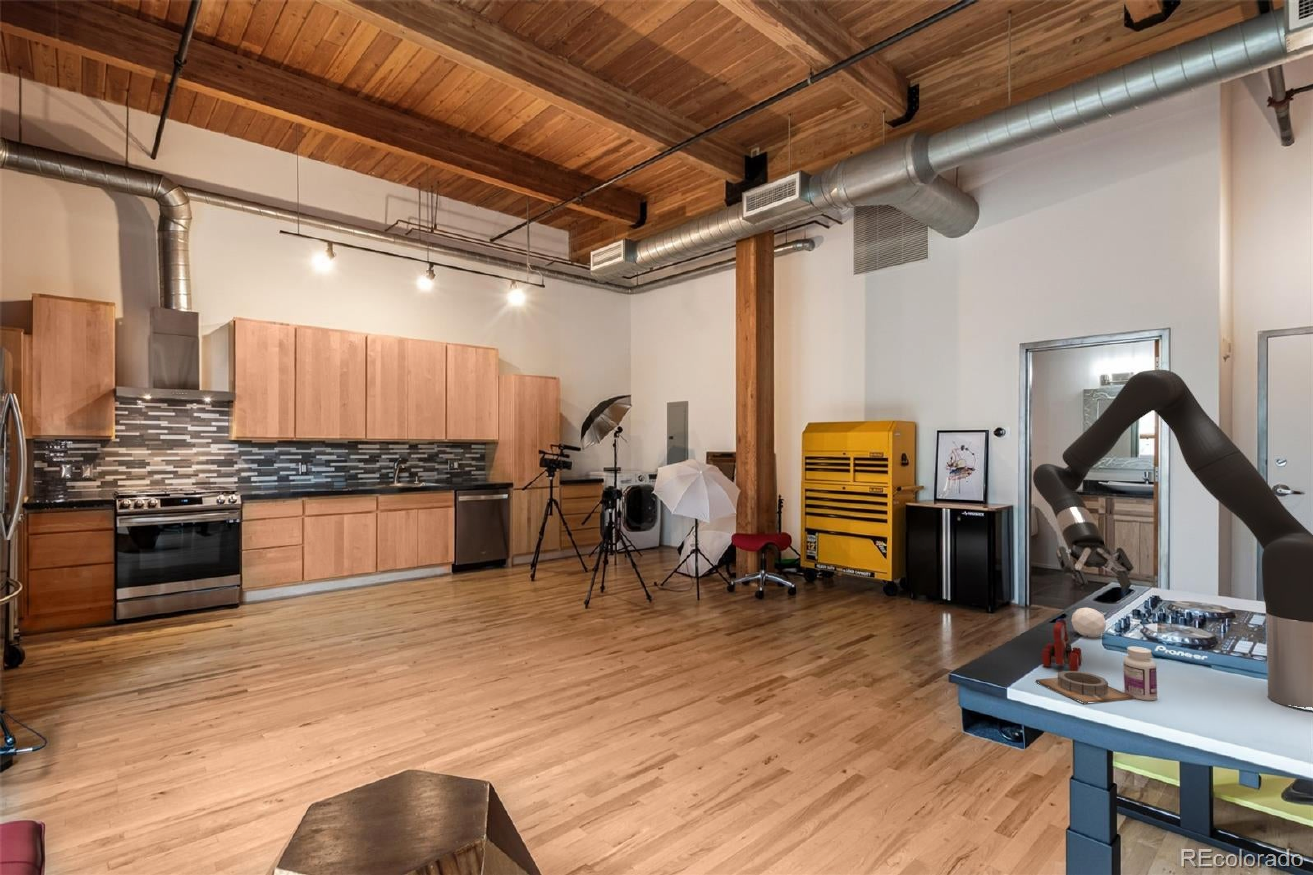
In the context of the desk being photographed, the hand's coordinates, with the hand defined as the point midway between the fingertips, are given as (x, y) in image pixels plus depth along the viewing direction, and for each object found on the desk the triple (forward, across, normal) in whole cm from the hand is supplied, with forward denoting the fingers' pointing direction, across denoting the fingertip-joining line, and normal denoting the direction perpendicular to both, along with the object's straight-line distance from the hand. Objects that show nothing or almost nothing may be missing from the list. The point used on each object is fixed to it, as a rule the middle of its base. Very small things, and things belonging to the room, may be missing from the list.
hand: (1106, 588), depth 140 cm
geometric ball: (-7, +12, +36) cm, 38 cm away
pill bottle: (+22, 0, +6) cm, 23 cm away
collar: (+21, -10, +7) cm, 24 cm away
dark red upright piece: (+10, -7, +18) cm, 22 cm away
